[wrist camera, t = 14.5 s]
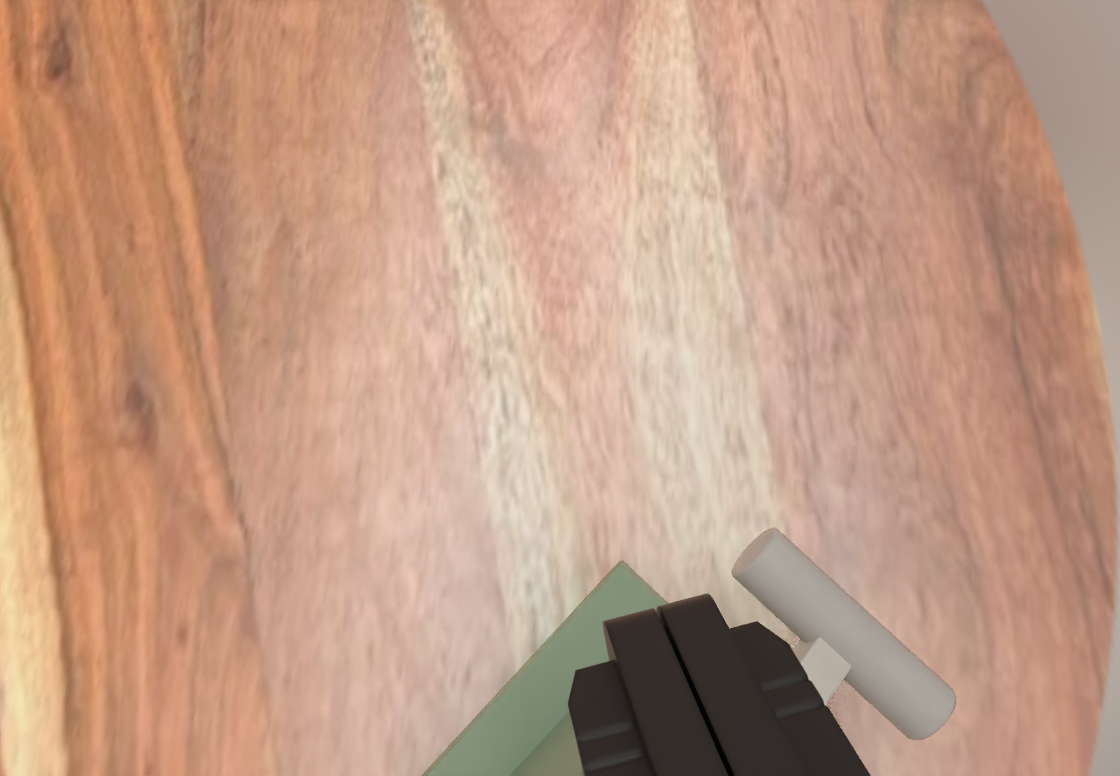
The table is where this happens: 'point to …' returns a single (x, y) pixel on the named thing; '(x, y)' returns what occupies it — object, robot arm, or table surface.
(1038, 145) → the table surface
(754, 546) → the hinged lever
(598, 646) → the green stand
